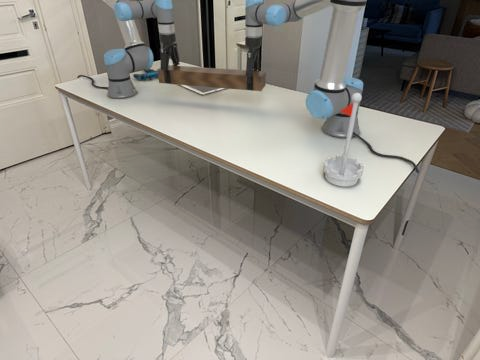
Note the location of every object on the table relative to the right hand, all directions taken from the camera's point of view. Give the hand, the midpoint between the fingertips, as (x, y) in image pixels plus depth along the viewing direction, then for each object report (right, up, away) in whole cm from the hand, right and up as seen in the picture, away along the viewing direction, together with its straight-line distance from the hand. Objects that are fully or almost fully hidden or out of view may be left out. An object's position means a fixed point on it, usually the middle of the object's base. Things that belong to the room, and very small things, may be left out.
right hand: (252, 86), depth 163 cm
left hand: (-41, +6, +11) cm, 43 cm away
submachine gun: (-60, +25, +62) cm, 90 cm away
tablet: (-30, +12, +41) cm, 52 cm away
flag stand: (+29, -44, -46) cm, 70 cm away
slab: (-20, +3, +6) cm, 21 cm away
